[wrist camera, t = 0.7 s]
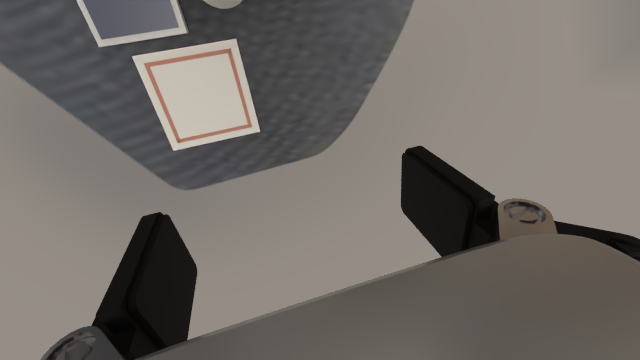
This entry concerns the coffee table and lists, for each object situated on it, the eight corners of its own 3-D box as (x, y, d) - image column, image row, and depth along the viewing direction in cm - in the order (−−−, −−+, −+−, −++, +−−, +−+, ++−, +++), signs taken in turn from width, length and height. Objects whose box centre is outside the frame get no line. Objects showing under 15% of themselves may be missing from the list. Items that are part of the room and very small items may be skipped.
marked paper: (132, 56, 35) (131, 56, 35) (235, 38, 37) (235, 38, 37) (173, 150, 42) (173, 151, 41) (260, 131, 43) (260, 131, 43)
